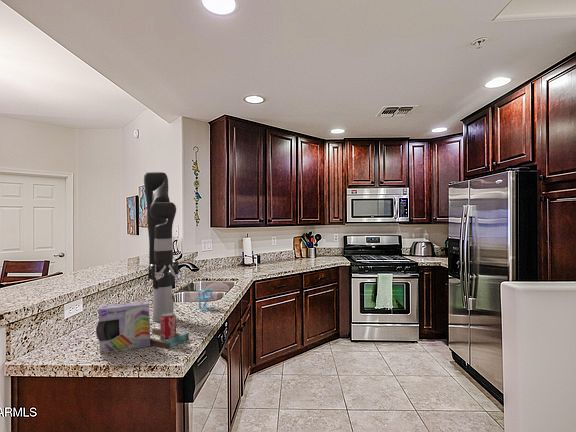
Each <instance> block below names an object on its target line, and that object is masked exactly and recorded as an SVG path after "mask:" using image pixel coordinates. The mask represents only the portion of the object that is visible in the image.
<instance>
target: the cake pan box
mask: <svg viewBox="0 0 576 432" xmlns="http://www.w3.org/2000/svg"><path fill="white" fill-rule="evenodd" d="M150 318H151V317H150V302H149V300H148V301H142V302H141V301H138V302H126V303H117V304H109V305H107V304H106V305H100V306H99V308H98V323H97V325H96V328H95V329H96V331H95V333H96V337H97V340H98V342H99V343H98V344H99V354H102V353H111V352H117V351H119V352H120V351H126V350H132V349H134V350H135V349H139V348H146V347H150V346H151V345H150V338H151V322H150V321H151V319H150Z"/></svg>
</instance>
